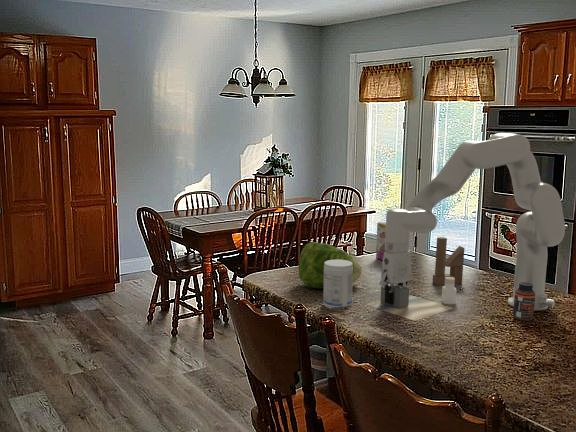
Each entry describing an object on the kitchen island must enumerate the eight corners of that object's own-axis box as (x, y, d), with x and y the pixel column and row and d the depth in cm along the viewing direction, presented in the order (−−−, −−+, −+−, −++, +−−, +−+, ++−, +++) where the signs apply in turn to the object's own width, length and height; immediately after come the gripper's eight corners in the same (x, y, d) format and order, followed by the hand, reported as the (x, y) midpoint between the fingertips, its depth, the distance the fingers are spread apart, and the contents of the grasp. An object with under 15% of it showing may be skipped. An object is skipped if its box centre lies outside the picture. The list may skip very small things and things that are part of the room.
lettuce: (355, 301, 217) (373, 277, 205) (295, 294, 210) (311, 269, 199) (348, 265, 228) (366, 240, 216) (292, 257, 221) (306, 231, 209)
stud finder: (408, 306, 188) (409, 287, 187) (399, 308, 185) (400, 289, 184) (389, 300, 194) (390, 281, 193) (380, 302, 191) (381, 284, 190)
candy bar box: (375, 258, 259) (376, 222, 256) (383, 257, 261) (385, 221, 258) (391, 264, 249) (393, 226, 246) (400, 263, 252) (402, 225, 249)
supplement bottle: (520, 322, 179) (523, 286, 177) (508, 316, 184) (511, 281, 182) (537, 320, 180) (540, 285, 178) (524, 314, 186) (527, 280, 184)
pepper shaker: (452, 303, 196) (454, 276, 194) (456, 307, 192) (457, 279, 190) (440, 303, 196) (442, 276, 194) (444, 307, 192) (445, 279, 190)
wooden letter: (462, 284, 220) (465, 237, 217) (437, 286, 217) (439, 238, 214) (456, 281, 223) (459, 235, 220) (432, 283, 220) (434, 237, 217)
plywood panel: (453, 311, 188) (454, 308, 187) (414, 324, 175) (414, 320, 175) (404, 296, 203) (405, 293, 203) (365, 307, 190) (365, 304, 190)
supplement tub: (341, 300, 198) (342, 257, 196) (357, 307, 190) (359, 264, 188) (317, 304, 193) (318, 260, 191) (333, 312, 185) (334, 267, 183)
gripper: (388, 252, 179) (385, 310, 181) (422, 246, 189) (420, 300, 192) (370, 248, 184) (368, 304, 187) (404, 242, 195) (402, 294, 198)
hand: (394, 301), depth 190 cm, fingers closed on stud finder, 4 cm apart
